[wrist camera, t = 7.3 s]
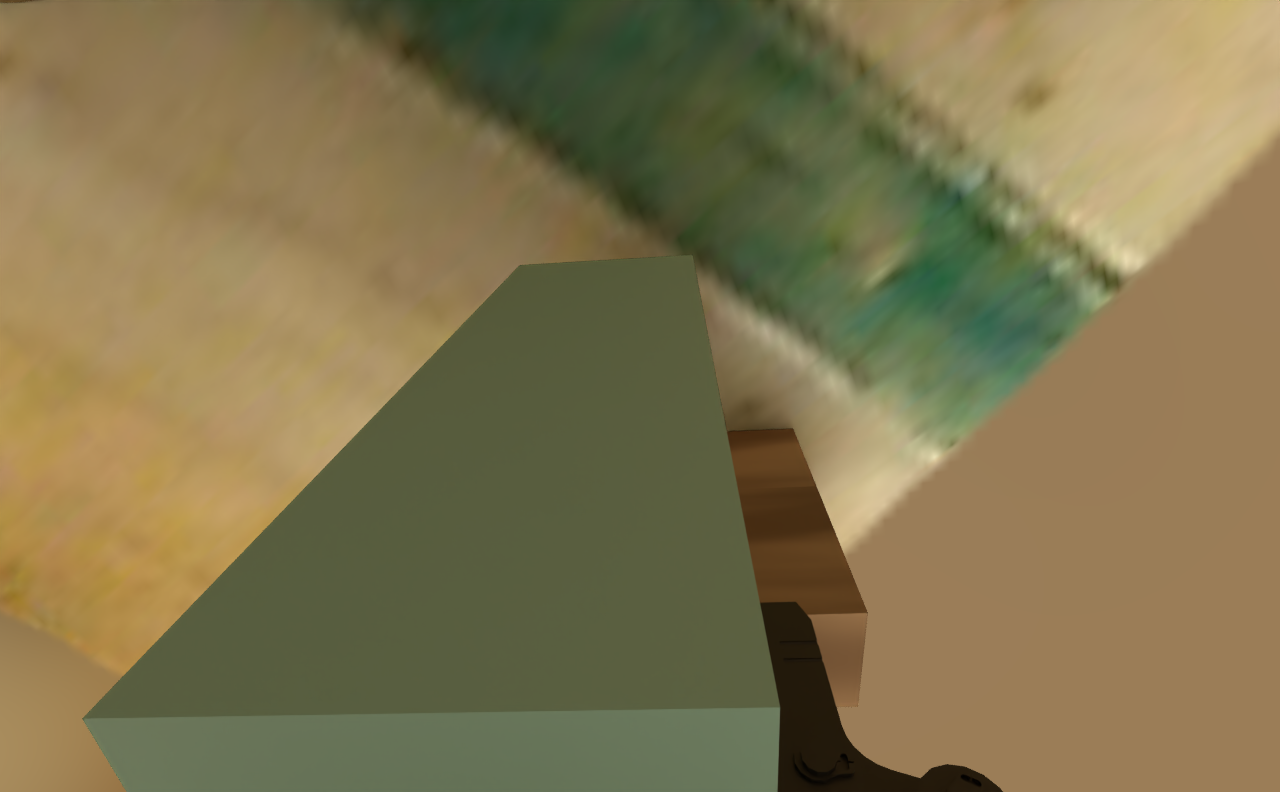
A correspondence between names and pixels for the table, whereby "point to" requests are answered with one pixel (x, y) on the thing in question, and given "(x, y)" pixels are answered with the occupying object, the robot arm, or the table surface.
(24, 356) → the table surface
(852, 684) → the walnut slotted plate
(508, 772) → the teal slotted plate
